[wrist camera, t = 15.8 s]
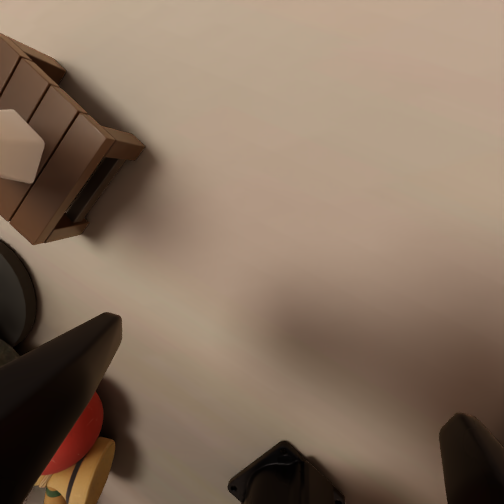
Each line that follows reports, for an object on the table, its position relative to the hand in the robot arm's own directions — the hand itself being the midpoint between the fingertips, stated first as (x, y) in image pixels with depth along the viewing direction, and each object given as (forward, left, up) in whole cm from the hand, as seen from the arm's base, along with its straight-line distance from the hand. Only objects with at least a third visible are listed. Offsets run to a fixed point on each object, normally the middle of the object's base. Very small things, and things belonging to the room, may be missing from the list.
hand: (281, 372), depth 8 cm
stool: (-5, +16, -12) cm, 21 cm away
